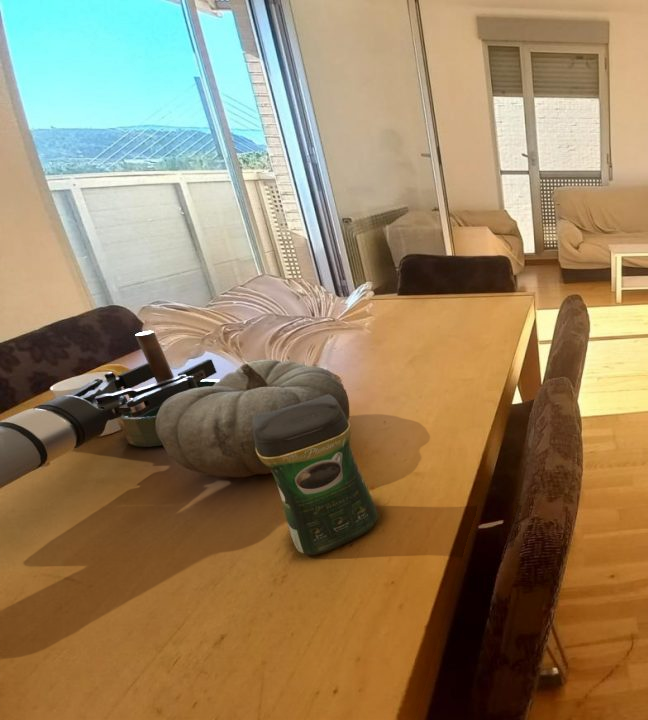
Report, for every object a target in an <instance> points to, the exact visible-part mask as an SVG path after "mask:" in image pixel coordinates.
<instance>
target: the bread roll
mask: <svg viewBox="0 0 648 720" xmlns="http://www.w3.org/2000/svg"><path fill="white" fill-rule="evenodd" d="M129 370H132V369H131V368H130V367H129V366H126V365H123V364H121V363H120V364H118V363H108V364H104V365H101V366H99V367H97V368H95V369H92V370H90V371H87V372H85V373H83V374H82V375H84V374H90V373H96V372H111V373H114V374H115V376H116V378H117V377H118V375H120V374H122V373H125V372H127V371H129Z"/></svg>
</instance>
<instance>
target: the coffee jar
mask: <svg viewBox="0 0 648 720" xmlns="http://www.w3.org/2000/svg"><path fill="white" fill-rule="evenodd" d="M252 427H253V434H254V440H255V445H256V452H257V455H258V457H259V458H260V460H261V461H262V462H263V463H264V464H265V465H266V466H268V467H269V468H270V470H271V471H272V473H271V474H272V475H273V478H274V480H275V483H276V487H277V488H278V489H277V490H278V492H279V495H280V499H281V502H282V507H283V511H284V514H285V519H286V522H287V527H288V529H289V534H290V536H291V539H292V541H293V545H294V547H295V548H296V550H297V551H298V552H299V553H301V554H302V555H305V556H316V555H320V554H323V553H326V552H328V551H331V550H333V549H335V548H338V547H340V546H342V545H345V544H347V543H349V542H351V541H352V540H354V539H357V538H358V537H361V536H363V535H364V534H366V533H368V532H369V531H370V530H371V529H373V527H374V525H375V524H376V523H377V521H378V511H377V508H376V505H375V502H374V500H373V497H372V495H371V492H370V490H369V488H368V486H367V484H366V481H365V480H364V478H363V476H362V473H361V472H360V469H359V467H358V465H357V462H356V459H355V457H354V455H353V452H352V451H353V450H352V449H351V444H350V439H351V433H352V431H351V424H350V422H349V419H348V420H347V418H346V416H345V414H344V412H343V411H342V409H341V407H340V405H339V403H338V402H337V401H336V399H335V398H334V397H332V396H331V395H325V396H322V397H320V398H317V399H314V400H311V401H307V402H304V403H300V404H297V405H293V406H290V407H286V408H283V409H280V410H277V411H273V412H269V413H265V414H260V415H256V416H255V417H254V418H253V423H252Z"/></svg>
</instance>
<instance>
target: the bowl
mask: <svg viewBox="0 0 648 720" xmlns="http://www.w3.org/2000/svg"><path fill="white" fill-rule="evenodd" d="M219 380H220V379H210V378H209V379H208V378H206V379H204V380H202V381H200V382H198V383H196V384H197V387H198V388H200V387H208V386H213V385H214V384H215V383H217V382H218V381H219ZM127 400H128V401H129V399H127ZM161 406H162V405H160V406H158V407H156V408H153V409H151V410H149V411H147V412H146V413H144V414H142V415H140V416H137V417H133V416H132V414H131V412H129V413H126V414H123V415H122V416H121V417H118V418H116V419H117V421H118V423H119V425H120V427H121V431H122V433H123V435H124V437H125V439H126V441H127V443H128V444H130V445H133V446H134V447H146V448H147V447H149V448H150V447H159V446H163V444H162V442H161V441H160V439H159V437H158V435H157V432H156V424H155V422H156V417H157V414H158V411H159V409H160V407H161Z"/></svg>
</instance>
